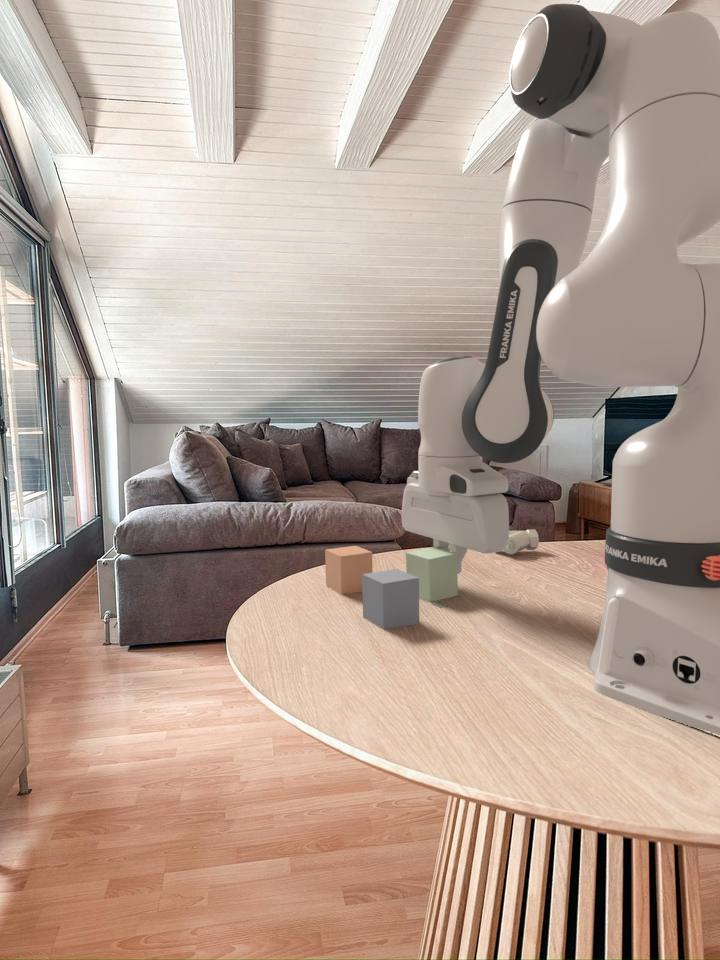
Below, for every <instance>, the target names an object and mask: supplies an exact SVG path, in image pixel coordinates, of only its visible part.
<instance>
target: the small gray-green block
mask: <svg viewBox="0 0 720 960" xmlns="http://www.w3.org/2000/svg"><path fill="white" fill-rule="evenodd" d="M431 605H433V606H436V607H438V608H440V609H442V608H447V607H449V606H448V605H446V604H445V603H442V602H440V601H438V602H437V601H436V602H432V603H431Z"/></svg>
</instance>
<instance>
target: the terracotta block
mask: <svg viewBox="0 0 720 960" xmlns="http://www.w3.org/2000/svg"><path fill="white" fill-rule="evenodd" d="M324 556H325V558H324V559H325V560H324V561H325V586H326V585H327V586H329V587H330V588H329V587H328V588H329V589H331V588H332V589H331V590H332V591H334V590H335V592H336V593H338V594H340V595H347V594H348V595H349V594H354V593H361V592H362V593H363V582H362V574H367V573H374V571H373V551H370V550H368V549H366V548H362V547H360V546H358V545H351V546H343V547H342V546H341V547H336V548H327V549H325V550H324ZM327 586H326V587H327Z"/></svg>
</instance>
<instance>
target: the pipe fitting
mask: <svg viewBox="0 0 720 960" xmlns="http://www.w3.org/2000/svg"><path fill="white" fill-rule="evenodd" d="M539 544H540V538H539V534H538V531H537V530H536V529H534V528H532V529H526V530H509V539H508V544H507V546H506V547H505V549H504V550H503V551H504V553H506V554H508V555H514V554H517V553H519V552H522V551H523V550H526V551H534V550H537V549H538V547H539Z"/></svg>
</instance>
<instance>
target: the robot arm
mask: <svg viewBox="0 0 720 960" xmlns="http://www.w3.org/2000/svg"><path fill="white" fill-rule="evenodd" d="M508 81H509V89H510V93H511V97H512V101H513V103H514V104H515V105H516V106H517V107H519V108H520V109H521V110H522V111H524V112H526V113H527V114H529V115H531V116H533V117H534V118H536V119H537V120H535V121H533V122H531V124H530V125H528V126H527V127H526V129H525V130H524V132H523V133H522V134H521V136H520V139H519V142H518V145H517V148H516V151H515V153H514V156H513V160H512V164H511V167H510V171H509V174H508V175H509V176H508V180H507V182H506V183H507V184H506V189H505V193H504V198H503V203H502V211H501V212H502V213H501V219H500V227H499V242H498V243H499V244H498V247H499V248H498V260H499V264H498V265H499V267H498V268H499V271H498V273H499V274H498V275H499V276H498V277H499V279H498V295H497V299H496V300H497V302H496V308H495V313H494V318H493V323H492V324H493V325H492V329H491V334H490V340H489V347H488V352H487V357H486V362H485V364H484V363H483V362H481V361H480V360H479V359H478V358H476V357H475V356H471V355H470V356H469V355H463V356H454V357H448V358H445V359H440V360H437V361H435V362H432V363H430V364H429V365H428V366H427V367H426V368H425V369H424V370H423V372H422V374H421V375H422V376H421V378H420V383H419V390H418V391H419V393H418V408H417V422H418V428H419V432H420V445H419V448H418V453H417V454H418V459H417V461H418V463H417V464H418V469H417V470H413V471H412V472H411V474H409V476H408V477H407V479H406V485H405V487H404V490H403V495H402V501H401V502H402V505H401V524H402V527H403V529H404V531H407V532H410V533H414V534H417V535H420V536H423V537H427V538H431V539H432V541H433V543H432V545H433V546H432V547H436V548H439V549H443V550H447V551H450V552H452V553H457V575H459V574H461V573H462V562H463V561H464V560H463V559H464V558H465V556H466V554H467V552H468V550H471V551H474V552H477V553H481V554H485V555H487V554H493V553H499V552H502V551H504V549H505V547H506V546H507V544H508V539H509V531H510V515H509V513H510V512H509V504H508V501H507V498H506V497H505V496H504V494H503V493H507V492H508V490H509V479H508V478H507V476H505V475H504V474H502V473H501V472H499V471H497V470H495V469H494V468H492V467H491V466H490V465H488V464H487V463H486V462H483V459H484V460H487V461H490V462H492V463H497V464H510V463H511V464H513V463H516V462H521V461H522V460H524V459H527V458H528V457H529V456H532V454H533V453H534V452H536V450H537V449H538V448H539V447H540V446H541V444H542V442H543V441H544V439H546V437H547V436H548V435H549V433H550V431H551V430H552V428H553V424H554V420H555V411H554V407H553V403H552V401H551V400H550V399H551V398H550V397H549V396H548V395H547V393H545V391H544V390H543V389H542V388H541V387H542V386H541V378H540V377H541V376H540V375H541V366H542V361H543V362H544V364H545V366H546V367H547V369H548V370H549V371H550V372H551V373H552V374H553V375H554V376H555V377H556V378H557V379H558V380H561V381H562V380H563V381H568V382H571V383H572V382H573V383H578V384H583V385H590V386H596V387H601V388H602V387H603V388H632V387H633V388H637V387H638V388H640V387H641V388H642V387H644V388H646V387H675V388H677V394H676V399H675V401H674V404H673V407H672V408H671V410H670V412H669V413H668V414H667V416H666V417H665V418H664V419H662V420H660V421H658V422H655V423H654V424H652V425H649V426H647V427H645V428H643V429H641V430H639V431H637V432H636V433H634V434H632V435H631V436H629V437H628V438H626V440H624V442H622V444H620V446H619V447H618V449H617V451H616V452H615V454H614V457H613V459H612V470H611V471H612V472H611V473H612V475H611V498H610V499H611V505H610V506H611V507H610V526H609V527H607V529H606V531H605V542H604V564H605V565H606V569H607V581H606V582H607V583H606V590H605V596H604V597H605V598H604V605H603V610H602V615H601V619H600V621H601V622H600V625H599V631H598V634H597V638H596V641H595V645H594V648H593V651H592V653H591V656H590V658H589V668H590V670H591V672H592V673H593V675H594V680H593V690H594V691H595V692H597V693H598V694H601V695H603V696H605V697H608V698H610V699H613V700H616V701H618V702H621V703H624V704H627V705H629V706H631V707H634V708H637V709H638V710H642V711H645V712H647V711H648V712H647V713H651V714H653V715H656V716H658V715H659V717H661V716H662V717H661V718H664V717H665V718H664V719H667V718H668V719H667V720H669V719H671V720H670V721H672V720H675V721H678V722H681V723H684V724H686V725H689V726H692V727H695V728H699V729H702V730H706V731H710V732H711V733H715V734H718V735H720V262H716V263H712V262H711V263H687V262H681V260H680V259H679V256H678V247H680V246H682V245H683V244H686V243H688V242H690V241H692V240H693V239H695V238H698V237H700V236H701V235H703V234H704V233H705V232H708V230H710V229H712V228H713V227H714V226H716V224H718V223H719V222H720V36H719V34H718V31H717V29H716V28H715V26H714V24H713V23H712V22H711V21H710V20H709V19H708V18H706V17H705V16H703V15H701V14H700V13H696V12H693V11H686V10H685V11H684V10H682V11H681V10H679V11H678V10H677V11H672V12H668V13H664V14H661V15H659V16H657V17H654V18H652V19H650V20H649V21H647V22H645V23H644V24H642V25H640V24H638V23H637V22H635V20H632V19H628V18H625V17H622V16H618V15H615V14H611V13H606V12H601V11H594V10H589V9H587V8H586V7H585V6H583V5H580V4H577V3H576V4H575V3H554V4H549V5H547V6H545V7H543V8H542V9H540V10H539V11H538V12H537V13H536V14H535V15H534V16H533V17H532V18H531V19H530V20H529V21H528V22H527V23H526V25H525V27H524V28H523V30H522V31H521V34H520V36H519V39H518V40H517V43H516V45H515V48H514V51H513V54H512V58H511V63H510V68H509V78H508ZM607 158H608V164H609V165H608V167H609V170H608V172H609V173H608V175H609V176H608V178H609V179H608V180H609V181H608V182H609V185H608V186H609V187H608V188H609V189H608V205H607V206H608V207H607V213H606V214H607V215H606V219H605V223H604V226H603V229H602V232H601V234H600V236H599V238H598V240H597V242H596V244H595V245H594V247H593V248H592V250H591V252H590V253H589V254H588V255H587V257H586V258H585V259H584V260H583V261H582V262H581V263H580V261H581V258H582V256H583V253H584V250H585V247H586V243H587V240H588V236H589V233H590V232H589V231H590V227H591V223H592V218H593V217H592V216H593V210H594V203H595V195H596V185H597V181H598V180H597V179H598V177H599V173H600V170H601V168H602V166H603V164H604V162H605V161H606V160H607ZM579 263H580V264H579ZM675 721H674V722H675ZM678 722H677V723H678ZM686 725H685V726H686ZM689 726H688V727H689Z"/></svg>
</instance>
